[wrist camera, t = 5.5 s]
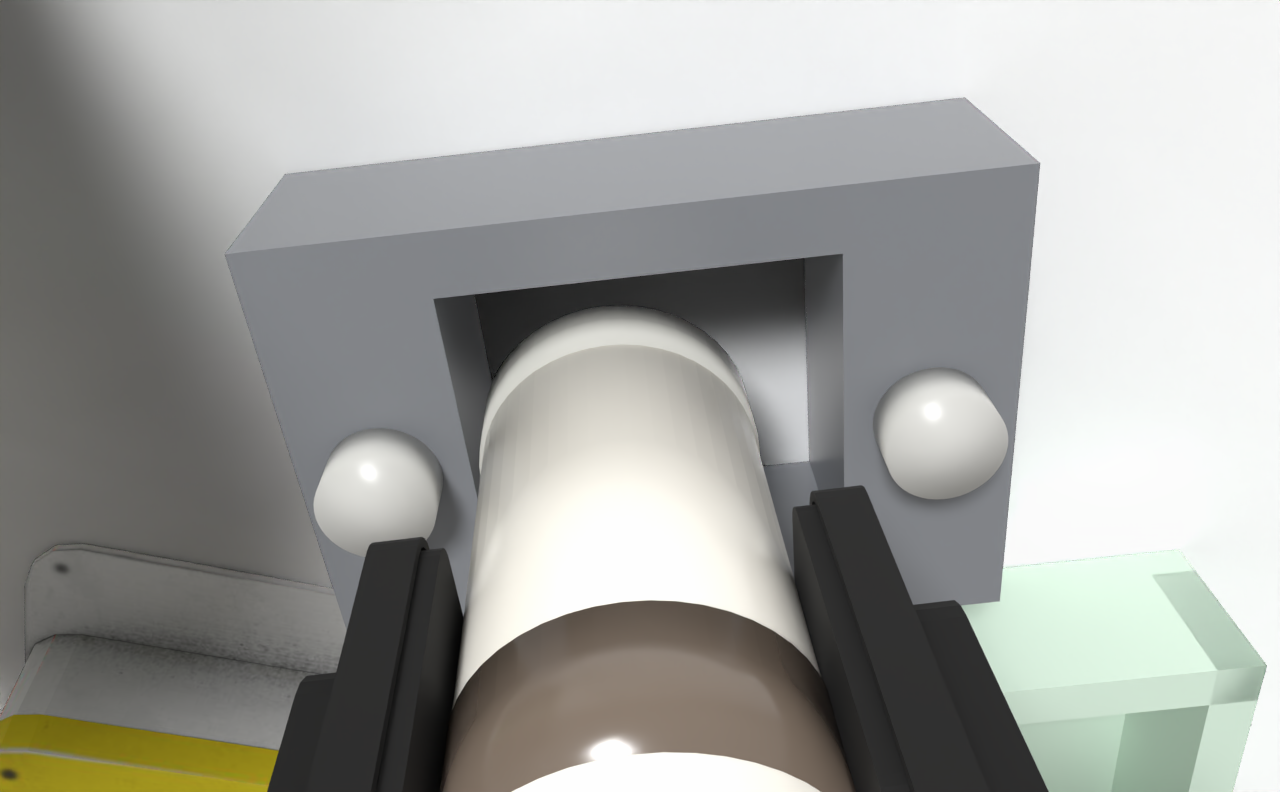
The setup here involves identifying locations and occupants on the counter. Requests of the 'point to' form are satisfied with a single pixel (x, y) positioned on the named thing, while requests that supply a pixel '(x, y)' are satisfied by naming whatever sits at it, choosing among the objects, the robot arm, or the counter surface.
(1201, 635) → the tray
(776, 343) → the counter surface
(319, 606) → the emergency button
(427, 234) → the block
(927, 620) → the robot arm
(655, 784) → the fuse
